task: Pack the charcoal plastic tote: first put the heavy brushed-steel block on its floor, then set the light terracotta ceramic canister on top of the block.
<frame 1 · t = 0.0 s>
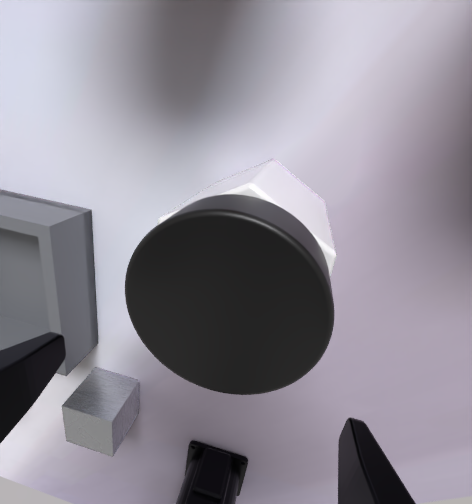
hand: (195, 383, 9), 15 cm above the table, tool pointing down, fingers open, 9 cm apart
jar: (263, 221, 22), on the table
tote: (27, 265, 29), on the table
steel block: (117, 389, 33), on the table
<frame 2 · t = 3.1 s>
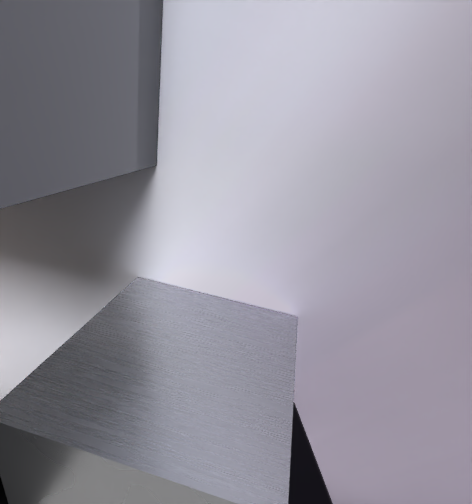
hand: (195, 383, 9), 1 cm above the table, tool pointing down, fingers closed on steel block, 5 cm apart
steel block: (205, 359, 10), on the table, touching gripper
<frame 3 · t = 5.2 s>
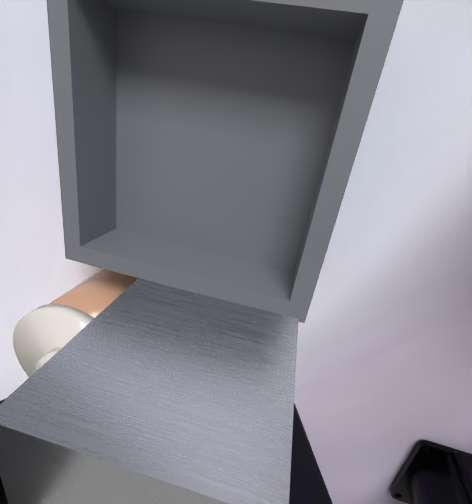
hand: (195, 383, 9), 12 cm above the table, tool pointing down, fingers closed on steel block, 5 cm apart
ceramic canister: (123, 306, 24), on the table
tote: (217, 151, 18), on the table
steel block: (206, 360, 10), point 11 cm above the table, touching gripper
when the fingers open (3 cm above the table, at t = 7.4 s): steel block drops 1 cm, resting on tote.
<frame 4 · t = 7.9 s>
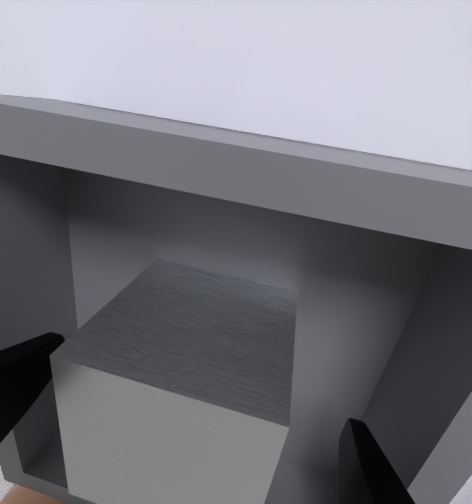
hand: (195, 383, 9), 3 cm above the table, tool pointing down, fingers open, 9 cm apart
ceramic canister: (102, 464, 19), on the table
tote: (223, 316, 12), on the table
steel block: (216, 332, 11), point 1 cm above the table, touching tote
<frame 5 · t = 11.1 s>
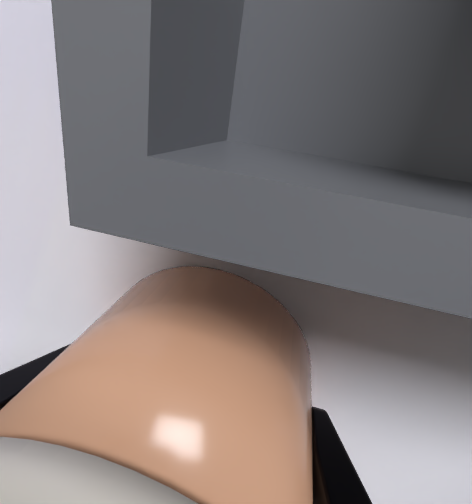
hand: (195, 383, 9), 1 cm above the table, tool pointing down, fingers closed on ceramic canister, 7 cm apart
ceramic canister: (206, 358, 10), on the table, touching gripper
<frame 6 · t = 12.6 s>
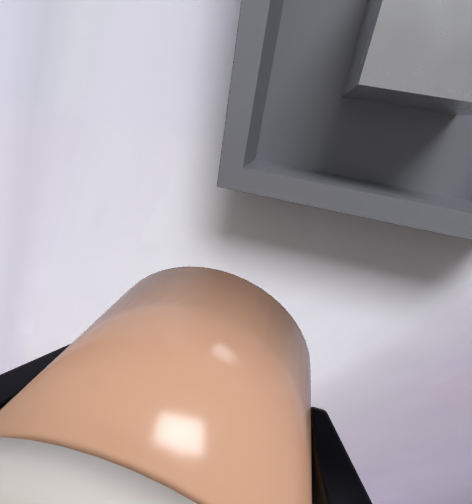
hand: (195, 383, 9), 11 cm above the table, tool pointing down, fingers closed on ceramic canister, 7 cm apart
ceramic canister: (205, 358, 10), point 10 cm above the table, touching gripper
tote: (414, 44, 14), on the table
steel block: (420, 40, 13), point 1 cm above the table, touching tote
when the fingers open (8 cm above the table, at t = 14.4 s): ceramic canister drops 1 cm, resting on steel block.
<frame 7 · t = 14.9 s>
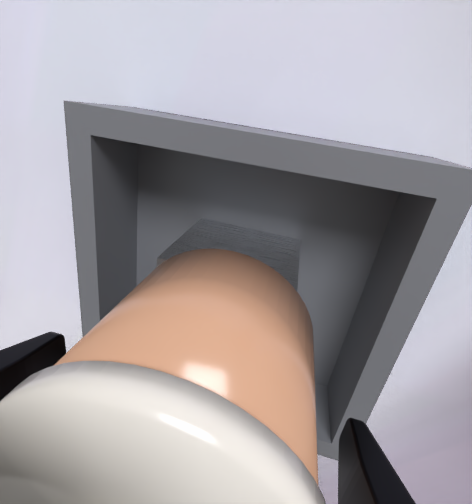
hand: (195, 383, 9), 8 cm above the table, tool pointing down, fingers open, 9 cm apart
ceramic canister: (220, 332, 11), point 6 cm above the table, touching steel block
tote: (246, 264, 17), on the table
steel block: (241, 272, 16), point 1 cm above the table, touching ceramic canister, tote
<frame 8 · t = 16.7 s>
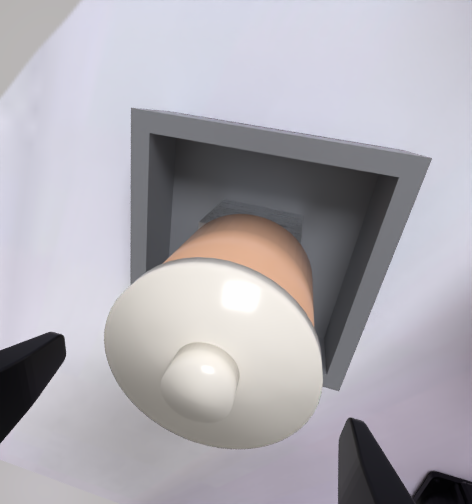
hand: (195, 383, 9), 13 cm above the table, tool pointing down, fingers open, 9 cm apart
ceramic canister: (243, 278, 16), point 6 cm above the table, touching steel block
tote: (258, 238, 21), on the table
steel block: (255, 243, 20), point 1 cm above the table, touching ceramic canister, tote
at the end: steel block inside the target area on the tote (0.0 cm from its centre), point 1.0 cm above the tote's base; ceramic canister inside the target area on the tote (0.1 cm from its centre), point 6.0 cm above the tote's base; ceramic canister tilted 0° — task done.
